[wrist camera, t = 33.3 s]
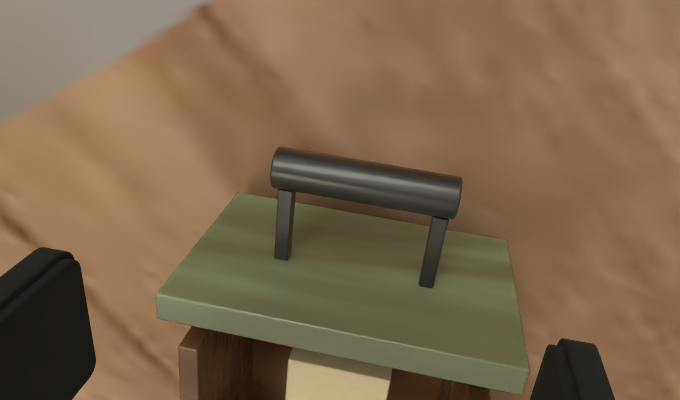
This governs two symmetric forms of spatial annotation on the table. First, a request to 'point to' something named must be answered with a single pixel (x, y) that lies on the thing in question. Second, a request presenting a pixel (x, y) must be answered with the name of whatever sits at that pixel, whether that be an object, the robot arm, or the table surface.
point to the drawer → (346, 288)
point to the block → (334, 378)
